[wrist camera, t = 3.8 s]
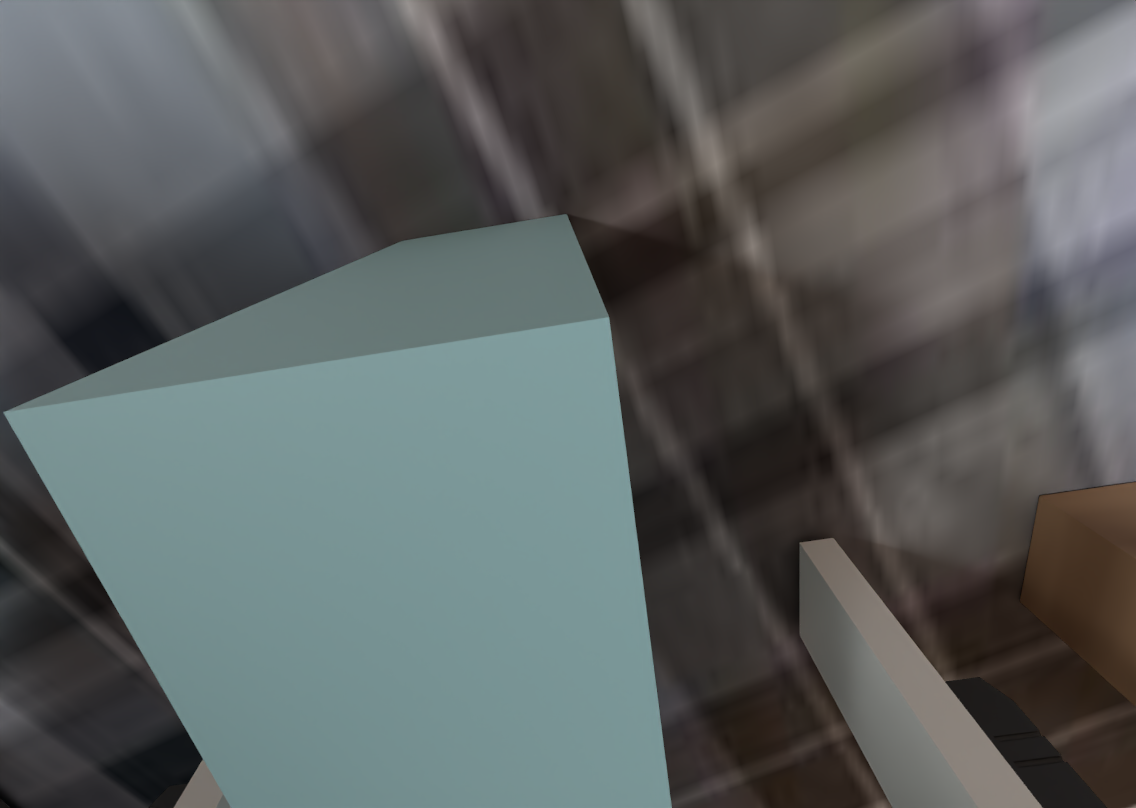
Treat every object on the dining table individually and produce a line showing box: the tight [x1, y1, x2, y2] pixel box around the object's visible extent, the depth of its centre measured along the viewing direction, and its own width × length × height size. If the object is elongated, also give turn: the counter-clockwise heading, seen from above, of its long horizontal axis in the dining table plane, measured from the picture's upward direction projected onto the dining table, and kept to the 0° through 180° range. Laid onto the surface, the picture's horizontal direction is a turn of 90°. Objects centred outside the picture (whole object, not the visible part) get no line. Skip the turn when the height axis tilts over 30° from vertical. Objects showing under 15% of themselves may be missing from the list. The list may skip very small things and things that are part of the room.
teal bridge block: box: [3, 214, 672, 808], centre depth 10 cm, size 3×18×8 cm, turn 9°
